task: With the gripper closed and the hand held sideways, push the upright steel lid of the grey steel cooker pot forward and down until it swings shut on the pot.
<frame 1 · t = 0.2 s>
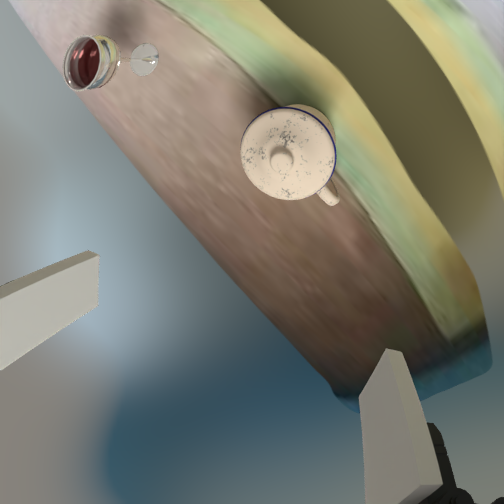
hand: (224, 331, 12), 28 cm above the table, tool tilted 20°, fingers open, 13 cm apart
teacup with lid: (307, 147, 34), on the table
wineglass: (144, 59, 32), on the table
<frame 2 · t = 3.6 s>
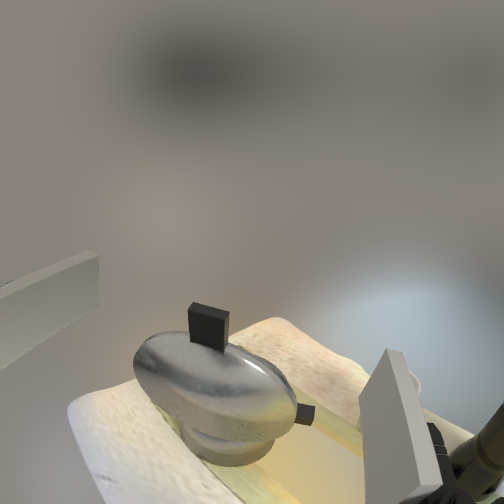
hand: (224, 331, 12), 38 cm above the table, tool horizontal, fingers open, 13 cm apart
cooker lid: (210, 390, 27), point 22 cm above the table, hinge at 100.0°
cooker pot: (228, 428, 46), on the table
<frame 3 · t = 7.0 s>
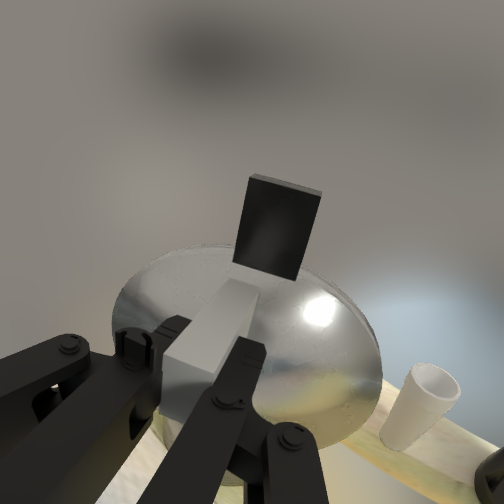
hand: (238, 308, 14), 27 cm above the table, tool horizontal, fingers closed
foam cup: (394, 438, 37), on the table
cooker lid: (239, 365, 17), point 22 cm above the table, hinge at 99.1°, touching gripper
cooker pot: (226, 435, 34), on the table
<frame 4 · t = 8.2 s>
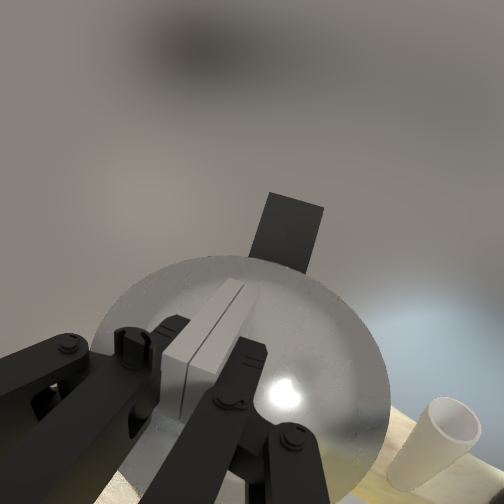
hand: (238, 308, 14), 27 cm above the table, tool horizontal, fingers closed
foam cup: (403, 476, 29), on the table
cooker lid: (233, 397, 15), point 22 cm above the table, hinge at 65.9°, touching gripper
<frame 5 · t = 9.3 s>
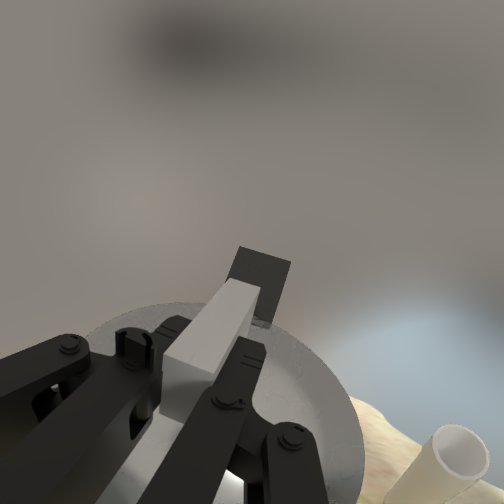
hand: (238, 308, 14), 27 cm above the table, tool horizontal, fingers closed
cooker lid: (196, 445, 12), point 20 cm above the table, hinge at 47.7°
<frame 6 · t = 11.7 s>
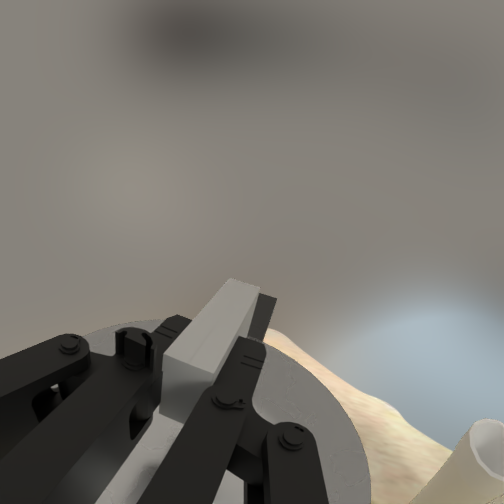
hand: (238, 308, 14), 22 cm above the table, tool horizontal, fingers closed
cooker lid: (184, 454, 11), point 16 cm above the table, hinge at 20.3°
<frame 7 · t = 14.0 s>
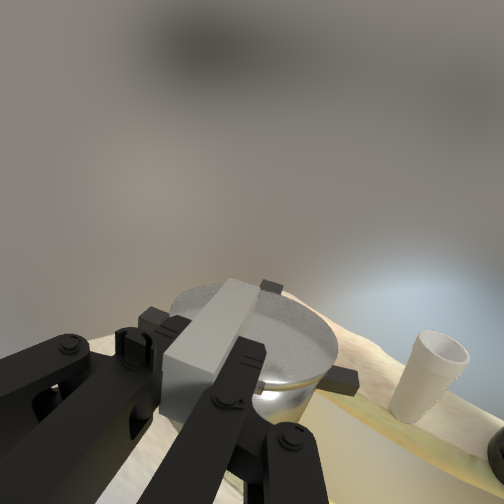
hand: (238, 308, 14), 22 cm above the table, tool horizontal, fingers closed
foam cup: (404, 411, 38), on the table
cooker lid: (258, 321, 32), point 13 cm above the table, hinge at -0.1°
cooker pot: (231, 406, 34), on the table
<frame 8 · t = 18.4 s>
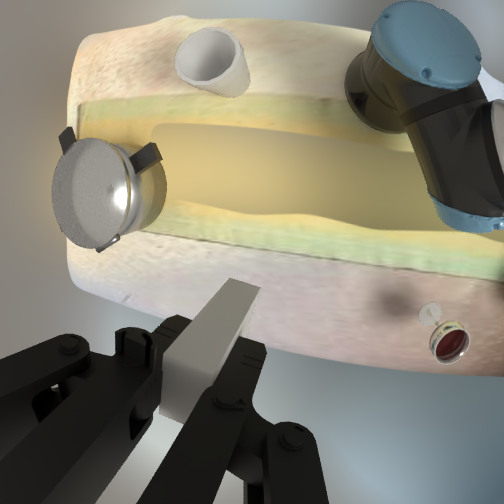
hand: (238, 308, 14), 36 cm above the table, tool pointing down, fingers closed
foam cup: (233, 81, 45), on the table
cooker lid: (83, 185, 41), point 13 cm above the table, hinge at -0.1°
wineglass: (430, 313, 47), on the table
cooker pot: (129, 187, 54), on the table
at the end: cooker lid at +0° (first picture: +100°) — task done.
